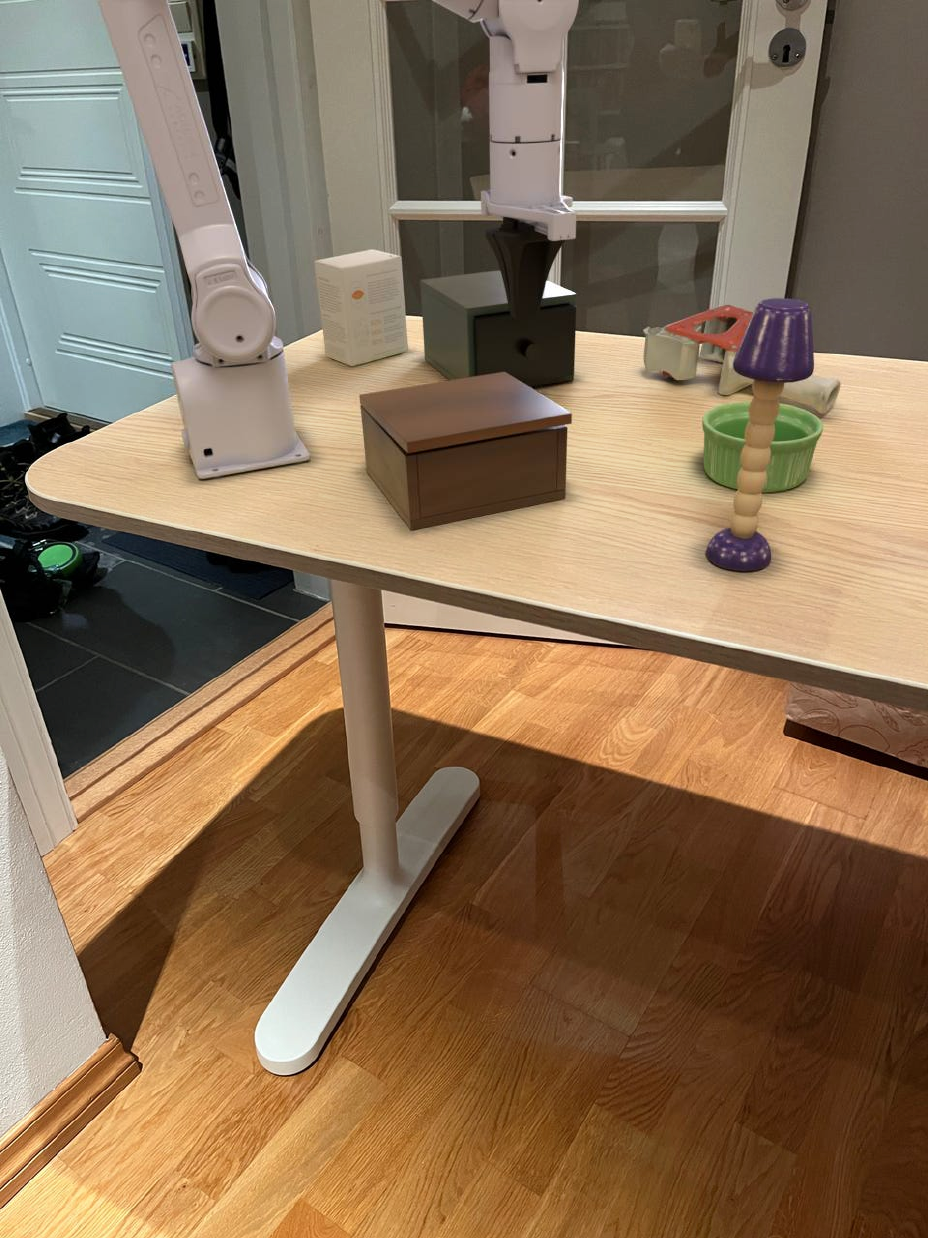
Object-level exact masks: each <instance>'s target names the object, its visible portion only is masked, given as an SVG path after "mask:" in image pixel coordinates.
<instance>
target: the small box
mask: <svg viewBox="0 0 928 1238" xmlns="http://www.w3.org/2000/svg"><path fill="white" fill-rule="evenodd" d="M402 261H403V260H402V256H401V255H397V254H394V253H389V252H386V251H382V250H377V249H372V248H371V249H367V250H362V251H357V252H352V253H348V254H342V255H337V256H332V257H327V258H322V259H318V260H314V270H315V272H314V273H315V278H316V286H317V295H318V304H319V311H320V321H321V328H322V336H323V343H324V351H325V352H324V353H325V356H326V357H327V358H329V359H332V360H335V361H337V362H340V363H342V364H345V365H347V366H350V367H355V366H359V365H363V364H366V363H370V362H373V361H377V360H380V359H384V358H389V357H392V356H395V355H398V354H402V353H405V352H408V351H409V344H408V343H409V342H408V329H407V317H406V316H407V314H406V302H405V301H406V300H405V289H404V273H403V262H402Z"/></svg>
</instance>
